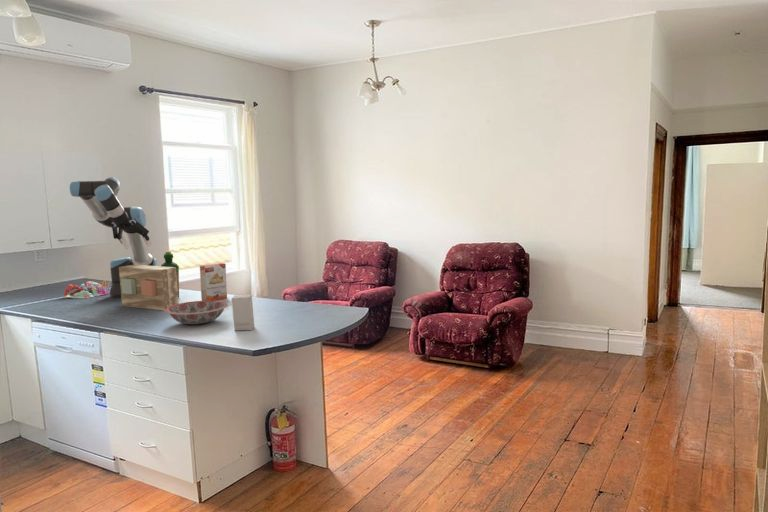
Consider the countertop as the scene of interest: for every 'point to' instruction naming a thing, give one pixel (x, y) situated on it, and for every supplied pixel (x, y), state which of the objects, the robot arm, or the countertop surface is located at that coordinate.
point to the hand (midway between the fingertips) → (139, 246)
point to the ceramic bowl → (196, 311)
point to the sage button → (128, 286)
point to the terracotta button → (148, 287)
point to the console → (164, 286)
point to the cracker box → (213, 281)
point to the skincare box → (243, 312)
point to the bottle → (171, 265)
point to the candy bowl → (88, 290)
